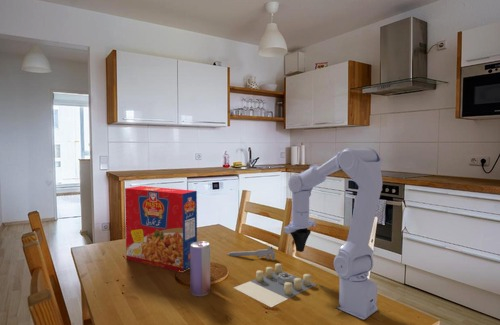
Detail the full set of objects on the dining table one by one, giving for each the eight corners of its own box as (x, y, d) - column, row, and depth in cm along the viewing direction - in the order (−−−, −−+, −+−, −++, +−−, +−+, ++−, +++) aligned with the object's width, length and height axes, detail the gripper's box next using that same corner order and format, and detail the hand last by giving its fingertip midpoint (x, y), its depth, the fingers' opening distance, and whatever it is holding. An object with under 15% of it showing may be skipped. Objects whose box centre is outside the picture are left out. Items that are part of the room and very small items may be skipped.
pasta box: (126, 259, 125) (125, 188, 124) (141, 253, 133) (140, 185, 131) (183, 272, 113) (182, 193, 111) (197, 265, 120) (196, 190, 118)
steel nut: (295, 282, 103) (295, 276, 103) (286, 286, 100) (286, 279, 100) (283, 277, 106) (283, 271, 106) (274, 281, 104) (274, 275, 103)
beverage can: (191, 298, 94) (191, 247, 93) (189, 289, 100) (189, 241, 99) (211, 295, 96) (211, 246, 95) (208, 287, 102) (208, 240, 101)
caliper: (275, 262, 123) (275, 246, 123) (274, 263, 122) (274, 247, 122) (227, 255, 132) (227, 240, 131) (226, 255, 131) (226, 240, 130)
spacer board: (316, 287, 101) (317, 275, 101) (271, 310, 87) (271, 296, 87) (279, 272, 113) (279, 261, 113) (233, 290, 99) (233, 278, 99)
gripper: (304, 206, 115) (303, 243, 116) (276, 212, 105) (276, 252, 106) (320, 209, 110) (320, 248, 110) (293, 215, 100) (293, 258, 101)
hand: (299, 250), depth 108 cm, fingers closed
